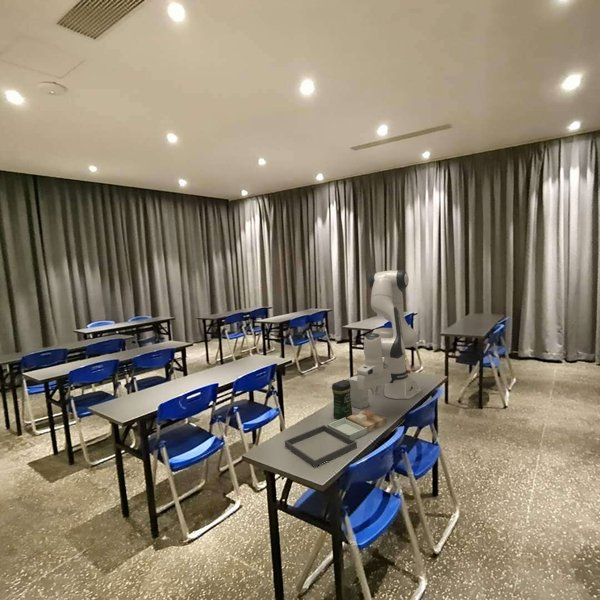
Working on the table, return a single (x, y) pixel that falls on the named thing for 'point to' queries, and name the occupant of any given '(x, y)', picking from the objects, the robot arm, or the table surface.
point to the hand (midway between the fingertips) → (375, 394)
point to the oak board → (369, 421)
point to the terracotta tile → (368, 414)
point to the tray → (348, 428)
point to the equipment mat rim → (327, 457)
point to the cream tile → (360, 417)
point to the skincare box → (358, 394)
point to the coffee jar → (342, 399)
